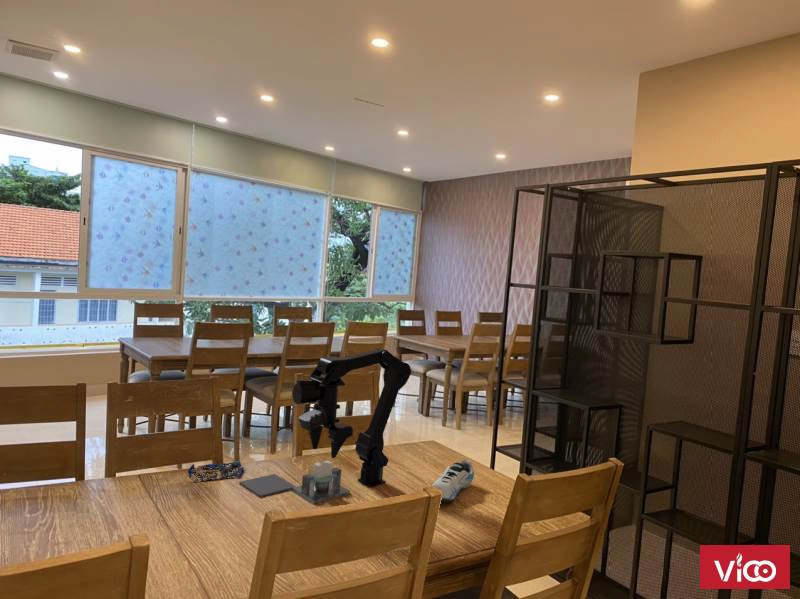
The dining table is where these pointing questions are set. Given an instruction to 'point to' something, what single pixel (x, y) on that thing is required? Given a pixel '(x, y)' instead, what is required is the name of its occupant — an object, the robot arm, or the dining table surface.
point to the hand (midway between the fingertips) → (324, 453)
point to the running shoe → (455, 479)
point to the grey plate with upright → (321, 488)
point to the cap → (323, 472)
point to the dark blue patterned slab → (220, 466)
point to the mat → (267, 485)
